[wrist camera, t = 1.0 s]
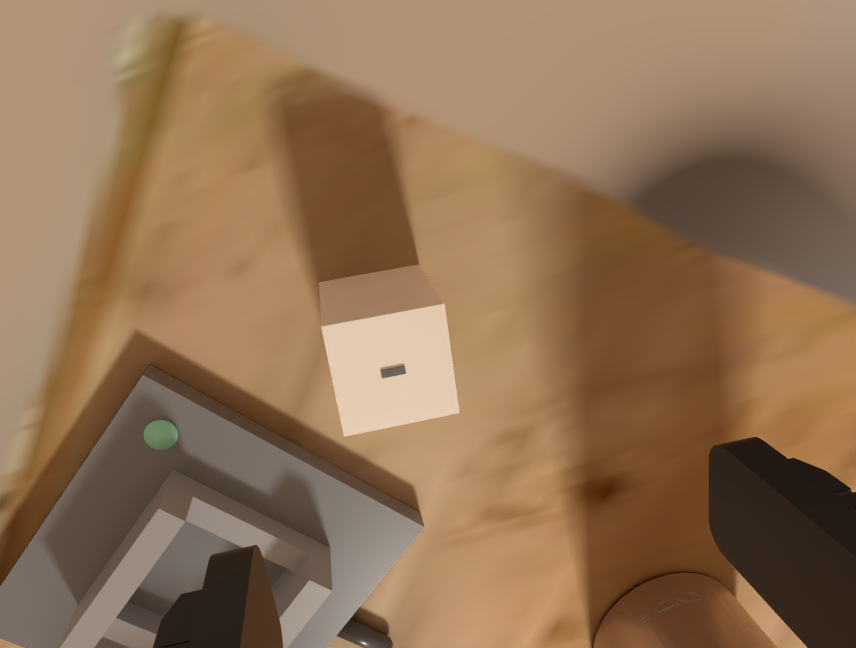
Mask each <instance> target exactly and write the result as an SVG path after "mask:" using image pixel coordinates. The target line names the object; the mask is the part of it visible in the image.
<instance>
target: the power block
mask: <svg viewBox="0 0 856 648" xmlns="http://www.w3.org/2000/svg"><path fill="white" fill-rule="evenodd" d="M423 528H424V524H423V520H422V517H421V513H420V512H418V511H417V510H415V509H413V508H411V507H409V506H407V505H406V504H404V503H402V502H400V501H398V500H397V499H395V498H393V497H391V496H389V495H387V494H386V493H384V492H382V491H380V490H378V489H376V488H375V487H373V486H371V485H369V484H367V483H366V482H364V481H362V480H360V479H358V478H356V477H355V476H353V475H351V474H349V473H347V472H345V471H344V470H342V469H340V468H338V467H336V466H334V465H333V464H331V463H329V462H327V461H325V460H324V459H322V458H320V457H318V456H316V455H314V454H313V453H311V452H309V451H307V450H305V449H303V448H302V447H300V446H298V445H296V444H294V443H293V442H291V441H289V440H287V439H285V438H283V437H282V436H280V435H278V434H276V433H274V432H272V431H271V430H269V429H267V428H265V427H263V426H261V425H260V424H258V423H256V422H254V421H252V420H251V419H249V418H247V417H245V416H243V415H241V414H240V413H238V412H236V411H234V410H232V409H230V408H229V407H227V406H225V405H223V404H221V403H219V402H218V401H216V400H214V399H212V398H210V397H209V396H207V395H205V394H203V393H201V392H199V391H198V390H196V389H194V388H192V387H190V386H188V385H187V384H185V383H183V382H181V381H179V380H178V379H176V378H174V377H172V376H170V375H168V374H167V373H165V372H163V371H161V370H159V369H157V368H156V367H154V366H152V365H150V364H149V365H148V367H147V368H146V370H145V371H144V373H143V374H142V376H141V377H140V379H139V380H138V382H137V383H136V385H135V386H134V388H133V389H132V391H131V392H130V394H129V395H128V397H127V398H126V400H125V401H124V403H123V404H122V406H121V407H120V409H119V410H118V412H117V413H116V414H115V416H114V417H113V419H112V420H111V422H110V423H109V425H108V426H107V428H106V429H105V431H104V432H103V434H102V435H101V437H100V438H99V440H98V441H97V443H96V444H95V446H94V447H93V449H92V450H91V452H90V453H89V455H88V456H87V458H86V459H85V460H84V462H83V463H82V465H81V466H80V468H79V469H78V471H77V472H76V474H75V475H74V477H73V478H72V480H71V481H70V483H69V484H68V486H67V487H66V489H65V490H64V492H63V493H62V495H61V496H60V498H59V499H58V501H57V502H56V504H55V505H54V507H53V508H52V509H51V511H50V512H49V514H48V515H47V517H46V518H45V520H44V521H43V523H42V524H41V526H40V527H39V529H38V530H37V532H36V533H35V535H34V536H33V538H32V539H31V541H30V542H29V544H28V545H27V547H26V548H25V550H24V551H23V553H22V554H21V555H20V557H19V558H18V560H17V561H16V563H15V564H14V566H13V567H12V569H11V570H10V572H9V573H8V575H7V576H6V578H5V579H4V581H3V582H2V584H1V585H0V638H1V639H4V640H6V641H9V642H12V643H14V644H17V645H20V646H22V647H25V648H153V645H154V642H155V638H156V635H157V632H158V628H159V625H160V622H161V620H162V618H163V617H164V616H165V615H166V613H167V612H168V611H169V609H170V608H171V607H172V605H173V604H174V603H175V601H176V600H177V599H178V597H179V596H180V595H181V594H183V593H188V592H192V591H197V590H201V589H202V588H203V583H204V579H205V575H206V570H207V566H208V562H209V558H210V556H211V555H212V554H217V553H221V552H226V551H230V550H235V549H239V548H244V547H249V546H253V545H258V547H259V548H260V551H261V553H262V557H263V560H264V564H265V568H266V571H267V575H268V579H269V582H270V586H271V590H272V593H273V597H274V601H275V604H276V608H277V612H278V615H279V620H280V625H281V631H282V639H283V648H327V647H328V646H329V644H330V643H331V642H332V641H333V639H334V638H335V637H336V636H338V637H341V638H343V639H345V640H347V641H350V642H352V643H354V644H356V645H358V646H361V647H363V648H392V647H393V643H392V640H391V638H390V637H388V636H386V635H384V634H382V633H380V632H378V631H376V630H373V629H371V628H369V627H367V626H365V625H363V624H360V623H358V622H356V621H354V620H352V619H350V618H351V617H352V616H353V615H354V613H355V612H356V611H357V610H358V608H359V607H360V606H361V605H362V603H363V602H364V601H365V600H366V598H367V597H368V596H369V595H370V593H371V592H372V591H373V590H374V589H375V587H376V586H377V585H378V584H379V582H380V581H381V580H382V579H383V577H384V576H385V575H386V574H387V572H388V571H389V570H390V569H391V567H392V566H393V565H394V564H395V562H396V561H397V560H398V559H399V558H400V556H401V555H402V554H403V553H404V551H405V550H406V549H407V548H408V546H409V545H410V544H411V543H412V541H413V540H414V539H415V538H416V536H417V535H418V534H419V533H420V531H421V530H422V529H423Z"/></svg>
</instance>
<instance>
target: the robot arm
mask: <svg viewBox="0 0 856 648" xmlns="http://www.w3.org/2000/svg"><path fill="white" fill-rule="evenodd" d="M709 524H710V529H711V532H712V535H713V538H714V540H715V542H716V545H717V546H718V548H719V550H720V551H721V553H722V554H723V555H724V556H725V557H726V559H727V560H728V561H729V562H730V563H731V564H732V565H733V566H734V567H735V568H736V570H737V571H738V572H739V573H740V574H741V575H742V576H743V577H744V578H745V579H746V581H747V582H748V583H749V584H750V585H751V586H752V587H753V588H754V589H755V590H756V592H757V593H758V594H759V595H760V596H761V597H762V598H763V599H764V600H765V601H766V602H767V604H768V605H769V606H770V607H771V608H772V609H773V610H774V611H775V612H776V613H777V615H778V616H779V617H780V618H781V619H782V620H783V621H784V622H785V623H786V624H787V626H788V627H789V628H790V629H791V630H792V631H793V632H794V633H795V634H796V635H797V636H798V638H799V639H800V640H801V641H802V642H803V643H804V644H805V645H806V646H807V647H808V648H856V492H853V493H852V491H851V488H849V487H848V486H846V485H845V484H844V483H842V482H841V481H839V480H838V479H837V478H835V477H834V476H832V475H831V474H830V473H828V472H827V471H825V470H823V469H820V468H818V467H815V466H813V465H810V464H808V463H805V462H803V461H800V460H798V459H795V458H791V459H787V458H786V457H785V456H783V455H782V454H781V453H779V452H778V451H777V450H775V449H774V448H773V447H771V446H770V445H769V444H767V443H766V442H765V441H763V440H762V439H760V438H757V437H752V438H747V439H743V440H738V441H733V442H729V443H724V444H720V445H715V446H713V447H712V449H711V451H710V454H709ZM153 648H283V639H282V631H281V625H280V620H279V615H278V612H277V608H276V604H275V601H274V597H273V593H272V590H271V586H270V582H269V579H268V575H267V571H266V568H265V564H264V560H263V557H262V553H261V551H260V548H259V547H258V545H253V546H249V547H244V548H239V549H235V550H230V551H226V552H221V553H217V554H212V555H211V556H210V558H209V562H208V566H207V570H206V575H205V579H204V583H203V588H202V589H201V590H197V591H192V592H188V593H183V594H181V595H180V596H179V597H178V599H177V600H176V601H175V603H174V604H173V605H172V607H171V608H170V609H169V611H168V612H167V613H166V615H165V616H164V617H163V618H162V620H161V622H160V625H159V628H158V632H157V635H156V638H155V642H154V645H153ZM593 648H777V647H776V646H775V645H774V643H773V642H772V641H771V640H770V639H769V637H768V636H767V635H766V634H765V633H764V631H763V630H762V629H761V628H760V627H759V626H758V624H757V623H756V622H755V621H754V620H753V618H752V617H751V616H750V615H749V614H748V612H747V611H746V610H745V609H744V608H743V607H742V605H741V604H740V603H739V602H738V601H737V599H736V598H735V597H734V596H733V595H732V594H731V592H730V591H729V590H728V589H727V588H726V587H725V586H724V585H723V584H722V583H720V582H718V581H717V580H715V579H713V578H711V577H708V576H705V575H701V574H697V573H677V574H669V575H665V576H662V577H658V578H655V579H652V580H650V581H648V582H646V583H644V584H642V585H640V586H638V587H636V588H634V589H633V590H632V591H630V592H629V593H628V594H626V595H625V596H623V597H622V598H621V599H620V600H619V601H618V602H617V603H616V604H615V605H614V606H613V607H612V608H611V609H610V610H609V612H608V613H607V615H606V616H605V618H604V619H603V621H602V622H601V624H600V626H599V629H598V631H597V633H596V636H595V641H594V646H593Z"/></svg>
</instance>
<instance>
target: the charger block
mask: <svg viewBox="0 0 856 648" xmlns="http://www.w3.org/2000/svg"><path fill="white" fill-rule="evenodd" d="M319 292H320V312H321V328H322V333H323V338H324V342H325V347H326V352H327V357H328V362H329V366H330V371H331V376H332V381H333V386H334V390H335V395H336V400H337V405H338V410H339V414H340V419H341V424H342V429H343V434H344V437H345V436H350V435H355V434H359V433H364V432H369V431H374V430H379V429H384V428H389V427H393V426H398V425H403V424H408V423H413V422H418V421H423V420H427V419H432V418H437V417H442V416H447V415H452V414H457V413H459V407H458V399H457V392H456V385H455V377H454V370H453V363H452V355H451V348H450V341H449V333H448V326H447V319H446V311H445V304H444V302H443V301H442V299H441V298H440V296H439V294H438V293H437V291H436V290H435V288H434V287H433V285H432V284H431V282H430V281H429V279H428V277H427V276H426V274H425V273H424V271H423V270H422V268H421V267H420V265H419V264H418V265H413V266H407V267H401V268H396V269H390V270H385V271H379V272H374V273H368V274H362V275H357V276H351V277H346V278H340V279H334V280H329V281H323V282H319Z"/></svg>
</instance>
